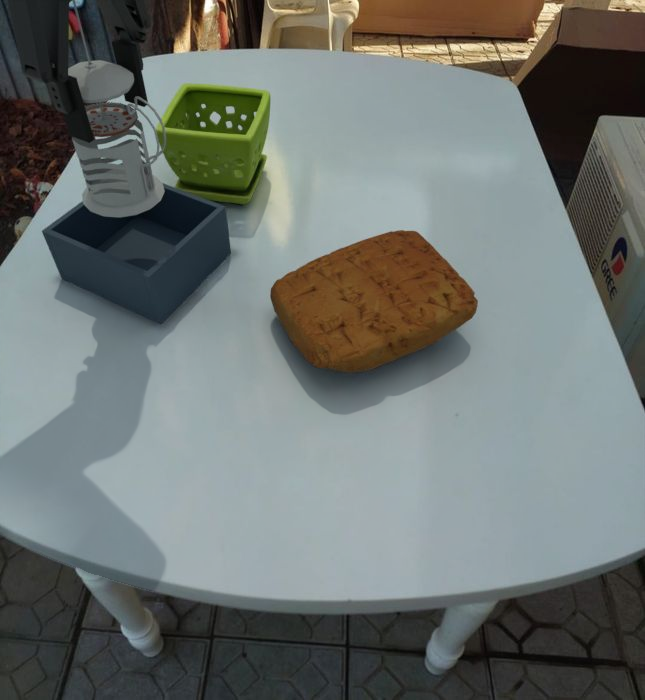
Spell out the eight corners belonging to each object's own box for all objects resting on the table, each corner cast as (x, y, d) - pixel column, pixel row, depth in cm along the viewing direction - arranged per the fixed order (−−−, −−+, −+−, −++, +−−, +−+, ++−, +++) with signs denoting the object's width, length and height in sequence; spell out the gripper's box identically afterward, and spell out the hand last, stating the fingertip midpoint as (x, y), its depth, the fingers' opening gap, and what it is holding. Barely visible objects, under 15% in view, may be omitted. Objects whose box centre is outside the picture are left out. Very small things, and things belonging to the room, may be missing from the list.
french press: (107, 164, 75) (44, -67, 57) (191, 181, 74) (155, -52, 55) (65, 208, 69) (-21, -35, 50) (156, 227, 67) (101, -18, 49)
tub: (61, 278, 78) (41, 230, 72) (138, 216, 87) (125, 169, 81) (161, 324, 73) (148, 277, 67) (231, 253, 82) (225, 206, 76)
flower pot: (194, 155, 98) (182, 79, 88) (275, 165, 97) (273, 89, 87) (167, 205, 89) (151, 127, 79) (257, 216, 88) (252, 138, 78)
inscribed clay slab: (407, 260, 83) (416, 214, 76) (479, 344, 73) (495, 298, 67) (261, 307, 76) (258, 260, 70) (319, 406, 66) (321, 362, 60)
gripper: (-36, -116, 40) (67, 176, 57) (160, -165, 52) (195, 89, 69) (-110, -132, 42) (11, 154, 59) (95, -176, 54) (145, 73, 71)
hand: (110, 119), depth 64 cm, fingers closed on french press, 8 cm apart
